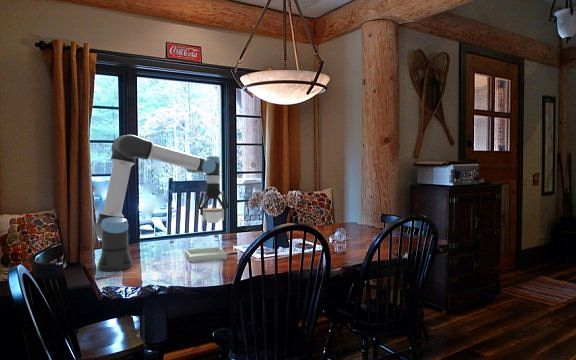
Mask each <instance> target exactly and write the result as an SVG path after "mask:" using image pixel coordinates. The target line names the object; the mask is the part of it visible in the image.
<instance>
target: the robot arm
mask: <svg viewBox="0 0 576 360" xmlns="http://www.w3.org/2000/svg"><path fill="white" fill-rule="evenodd" d="M137 159H140V160H141V159H142V160H146V161H148V160H152V161H153V160H154V161H158V162H160V163H165V164H170V165H173V166H177V167H181V168H185V170H186V172H187V173H188V174H189V173H191V174H193V173H194V174H195V173H197V174H198V173H199V174H206V185H205V186H206V191H201V192H200V197H199V201H198V204H197V207H196V209H198V210H199V215H200V216H201V221H202V222H205V218H204V209H205V207H206V205H207V203H208V202H209V200H214V199H215V200H217V201H218V203H219V205H220V206H221V209H222V217H221V219H220V221H224V220H225V219H224V218H225V215H226V214H227V213H226V211H227V210H226V209H228V208H229V203H228V201H227V198H226V192H225V191H221V190H220V189H221V188H220V186H221V185H220V181H221V180H220V178H221V177H220V172H221V171H220V168H221V163H220V162H221V161H220V157H219V156H216V155H214V156H213V155H208V156H206V158H204V157H200V156H198V155H194V154H190V153H187V152H183V151H179V150H176V149H172V148H169V147H165V146H163V145H158V144H155V143H153V141H152V140H147V139H146V138H143V137H140V136H137V135H134V134H126V135H120V136H118V137H116V138H115V139H114V141H112V144H111V157H110V161H111V162H112V169H111V173H110V176H109V177H110V178H109V182H108V187H107V192H106V197H105V200H104V201H105V202H104V206H103V210H102V211H100V212H99V214H98V218H97V221H96V222H95V225H94V233H95V236H96V237H97V238H99V239H100V240H101V255H100V258H99V260H98V264H97V270H99V271H101V272H117V271H118V272H119V271H123V270H129V269H131V268H132V267H133V258H132V256H131V254H130V252H129V223H128V221H129V220H128V219H127V218H124V217H125V215H123V213H122V212H123V208H124V203H125V202H124V201H125V198H126V193H127V188H128V184H129V178H130V174H131V168H132V166H134V165H136V160H137ZM205 195H206V196H207V197H206V198H205V200H204V197H205ZM220 196H222V200H223V201H222V200H221V197H220ZM203 200H204V201H203Z"/></svg>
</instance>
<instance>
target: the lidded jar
mask: <svg viewBox="0 0 576 360" xmlns="http://www.w3.org/2000/svg"><path fill="white" fill-rule="evenodd" d="M222 209H223V208H222V207H221V208H219V207H214V206H212V205H211V207H209V208H203V210H204V221H206V223H208V224H217V223H219V222H220V221H221V217H222Z"/></svg>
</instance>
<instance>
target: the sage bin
mask: <svg viewBox="0 0 576 360" xmlns="http://www.w3.org/2000/svg"><path fill="white" fill-rule="evenodd" d="M184 257H186V258H187V260H188V262H190V263H198V262H209V261H211V262H212V261H222V260H227V259H228V258H227V257H228V254H227V253H226V251H224V250H223V249H222V248H220V247H219V246H214V247H211V246H210V247H201V248H200V247H199V248H188V249H185V248H184Z"/></svg>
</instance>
